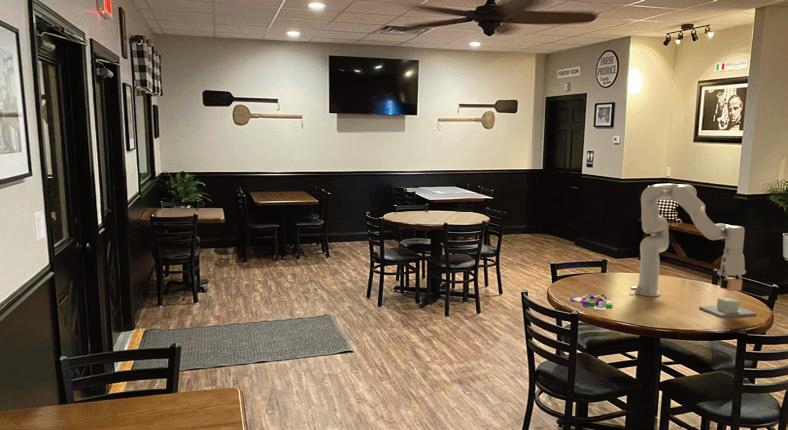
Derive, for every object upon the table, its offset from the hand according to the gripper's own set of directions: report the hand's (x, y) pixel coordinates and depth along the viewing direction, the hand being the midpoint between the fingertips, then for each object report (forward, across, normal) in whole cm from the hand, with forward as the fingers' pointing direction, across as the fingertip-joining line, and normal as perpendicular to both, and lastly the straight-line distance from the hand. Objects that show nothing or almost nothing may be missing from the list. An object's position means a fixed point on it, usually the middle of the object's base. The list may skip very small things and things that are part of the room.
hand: (730, 287), depth 277 cm
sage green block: (+11, 0, 0) cm, 11 cm away
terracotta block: (+1, 0, 0) cm, 1 cm away
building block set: (+13, -58, +26) cm, 65 cm away
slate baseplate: (+13, 0, 0) cm, 13 cm away
